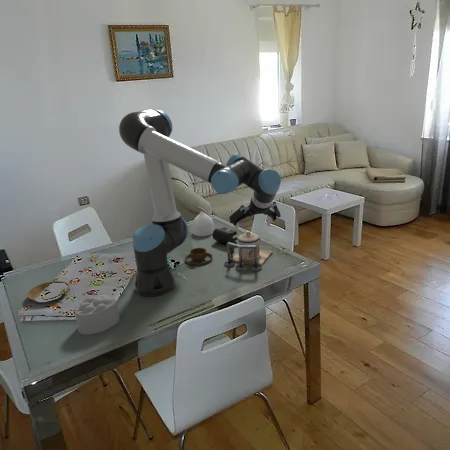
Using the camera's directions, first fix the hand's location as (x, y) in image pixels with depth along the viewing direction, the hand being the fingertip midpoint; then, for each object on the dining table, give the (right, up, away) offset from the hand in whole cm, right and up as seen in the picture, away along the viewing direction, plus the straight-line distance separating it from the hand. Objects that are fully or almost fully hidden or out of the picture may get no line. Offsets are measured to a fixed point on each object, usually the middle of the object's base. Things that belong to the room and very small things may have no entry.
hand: (251, 225), depth 169 cm
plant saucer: (-78, -27, -10) cm, 83 cm away
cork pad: (+1, -14, +11) cm, 18 cm away
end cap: (-11, -9, +28) cm, 32 cm away
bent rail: (-4, -17, +2) cm, 18 cm away
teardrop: (-22, -4, +44) cm, 49 cm away
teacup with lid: (+1, -13, +11) cm, 17 cm away
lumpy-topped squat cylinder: (-53, -33, -31) cm, 70 cm away
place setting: (-19, -16, +11) cm, 27 cm away
